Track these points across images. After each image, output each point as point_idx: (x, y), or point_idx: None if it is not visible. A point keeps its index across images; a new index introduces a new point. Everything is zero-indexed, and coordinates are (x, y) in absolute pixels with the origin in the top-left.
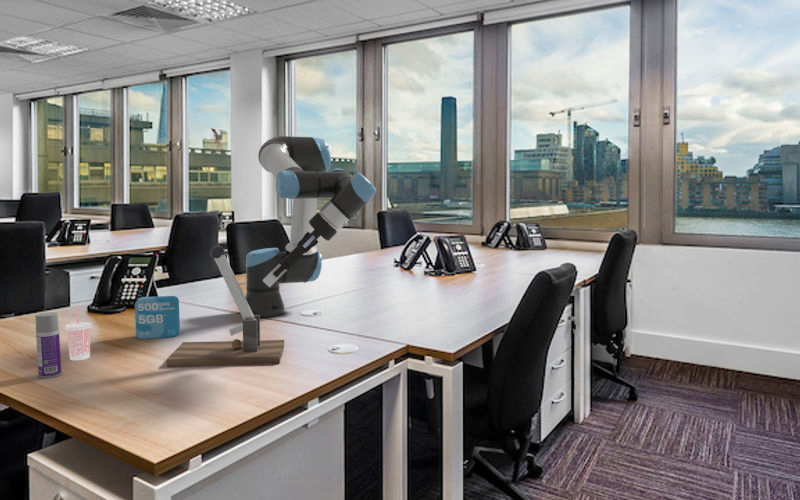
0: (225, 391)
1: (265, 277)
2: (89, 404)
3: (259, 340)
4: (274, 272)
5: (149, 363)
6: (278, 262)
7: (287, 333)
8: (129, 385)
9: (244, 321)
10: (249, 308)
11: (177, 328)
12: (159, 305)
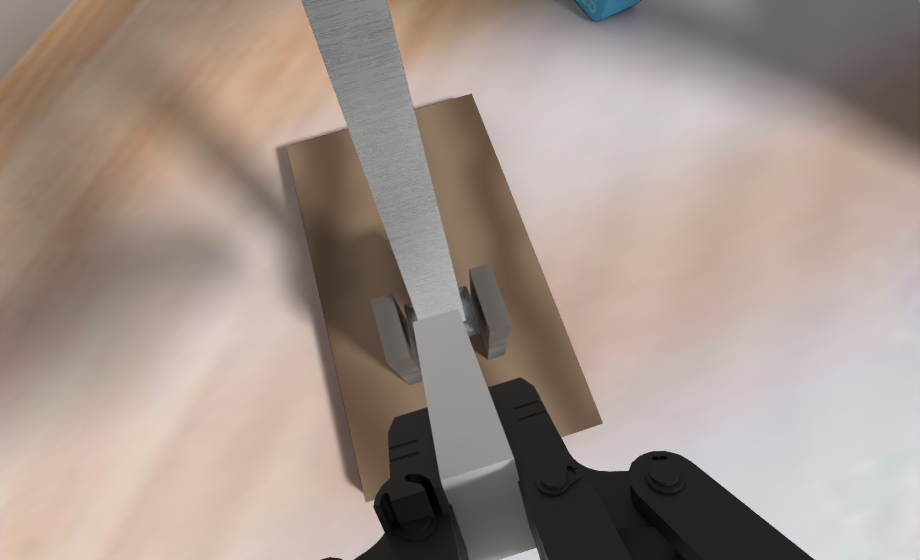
0: (81, 436)
1: (416, 341)
2: (12, 154)
3: (488, 355)
4: (389, 438)
5: (321, 101)
6: (397, 484)
7: (793, 355)
8: (140, 158)
9: (373, 308)
10: (434, 287)
11: (603, 2)
12: None
